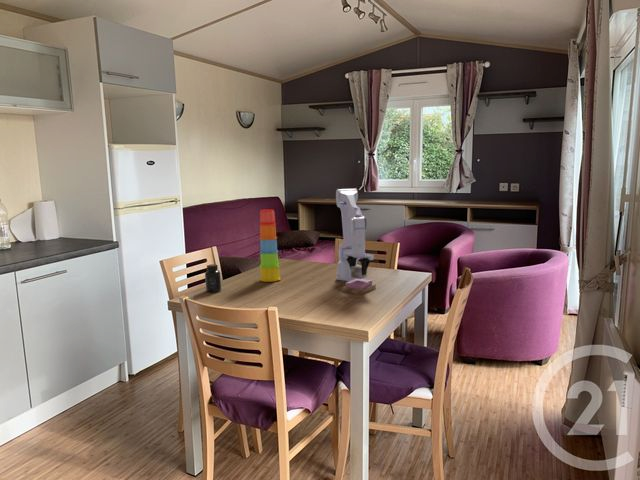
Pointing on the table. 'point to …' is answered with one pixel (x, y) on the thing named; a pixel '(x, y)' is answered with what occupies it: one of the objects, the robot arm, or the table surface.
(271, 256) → the stacking cups
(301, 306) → the table surface
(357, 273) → the slate cube
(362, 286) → the plum top block
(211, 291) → the supplement bottle
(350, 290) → the walnut base block
